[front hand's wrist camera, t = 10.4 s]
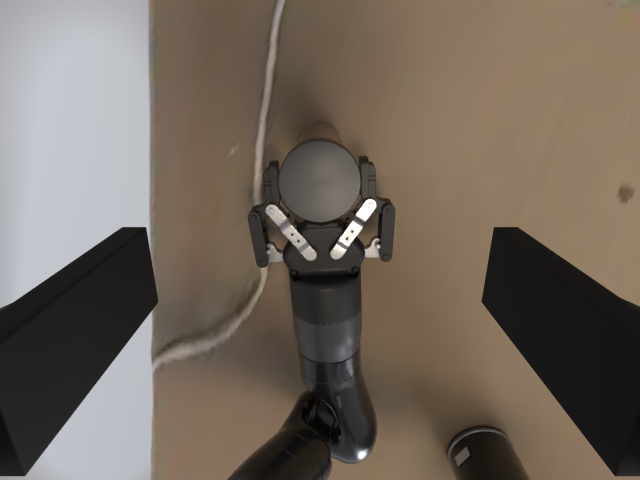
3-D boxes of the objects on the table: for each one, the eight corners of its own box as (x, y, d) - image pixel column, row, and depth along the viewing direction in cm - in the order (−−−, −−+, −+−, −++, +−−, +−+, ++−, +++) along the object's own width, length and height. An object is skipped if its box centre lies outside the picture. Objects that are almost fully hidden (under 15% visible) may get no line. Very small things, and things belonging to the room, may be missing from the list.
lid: (285, 132, 25) (282, 134, 23) (364, 143, 25) (367, 147, 24) (277, 209, 27) (274, 216, 25) (351, 218, 27) (353, 227, 26)
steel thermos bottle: (301, 119, 42) (287, 140, 24) (343, 125, 42) (360, 150, 24) (296, 161, 43) (280, 210, 26) (337, 167, 44) (349, 219, 26)
